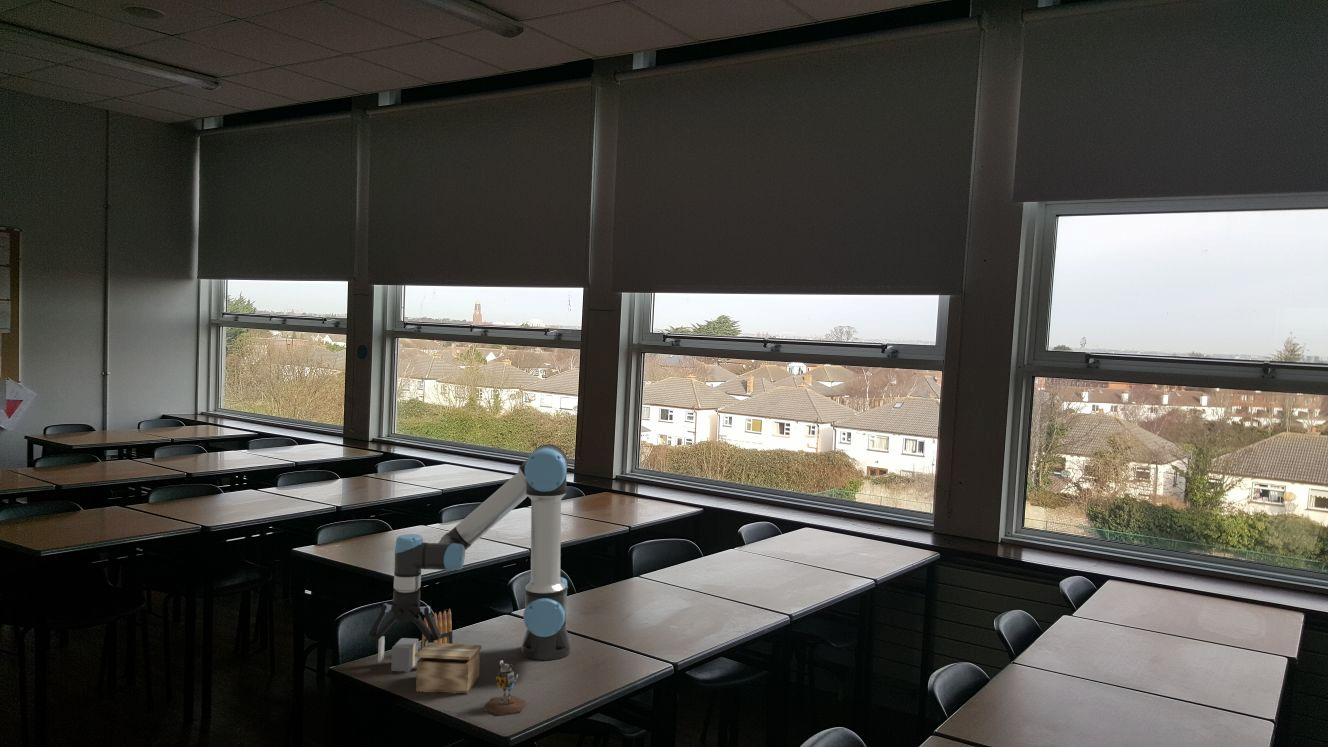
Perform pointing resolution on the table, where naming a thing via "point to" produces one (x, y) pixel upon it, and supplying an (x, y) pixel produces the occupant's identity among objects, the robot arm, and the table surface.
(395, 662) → the grey taped box
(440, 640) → the ammunition clip
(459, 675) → the crate
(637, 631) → the table surface
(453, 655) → the lid
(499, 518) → the robot arm
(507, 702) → the robot figurine
